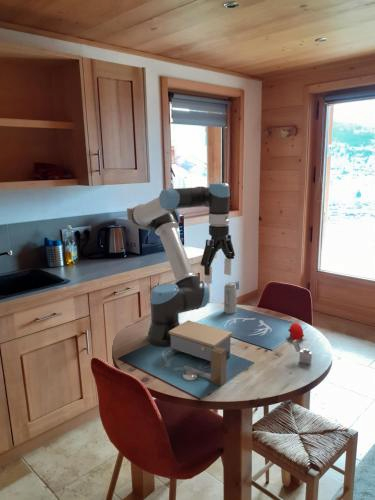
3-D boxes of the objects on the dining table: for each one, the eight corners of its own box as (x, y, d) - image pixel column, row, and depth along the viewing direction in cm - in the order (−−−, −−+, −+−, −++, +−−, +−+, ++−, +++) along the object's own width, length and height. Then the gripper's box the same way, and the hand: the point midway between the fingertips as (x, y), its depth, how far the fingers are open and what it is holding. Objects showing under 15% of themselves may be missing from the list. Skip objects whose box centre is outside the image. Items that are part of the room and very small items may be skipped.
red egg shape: (288, 325, 169) (285, 323, 164) (301, 322, 168) (299, 320, 162) (292, 344, 166) (289, 342, 161) (306, 341, 164) (304, 339, 159)
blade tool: (181, 371, 139) (181, 340, 137) (187, 367, 142) (187, 337, 140) (220, 386, 130) (221, 353, 127) (226, 381, 133) (226, 349, 130)
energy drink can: (237, 313, 192) (238, 285, 189) (226, 314, 191) (226, 286, 188) (233, 309, 198) (234, 281, 195) (222, 310, 197) (222, 282, 194)
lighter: (311, 362, 144) (312, 343, 143) (310, 364, 143) (311, 344, 141) (292, 357, 148) (293, 338, 146) (291, 359, 147) (292, 340, 145)
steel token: (180, 377, 136) (180, 374, 136) (190, 371, 139) (190, 369, 139) (190, 383, 133) (190, 380, 132) (200, 377, 136) (200, 375, 136)
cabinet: (167, 355, 151) (167, 332, 149) (188, 342, 162) (188, 320, 160) (212, 371, 139) (213, 346, 137) (232, 356, 150) (232, 332, 148)
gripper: (208, 230, 133) (207, 288, 138) (244, 221, 152) (242, 272, 157) (190, 228, 137) (191, 284, 142) (228, 219, 156) (227, 269, 161)
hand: (218, 278), depth 149 cm, fingers open, 13 cm apart
